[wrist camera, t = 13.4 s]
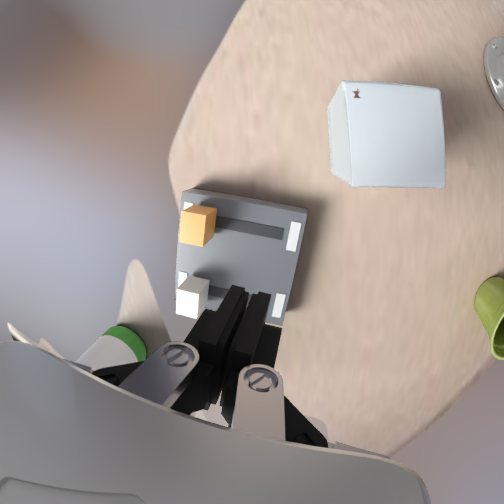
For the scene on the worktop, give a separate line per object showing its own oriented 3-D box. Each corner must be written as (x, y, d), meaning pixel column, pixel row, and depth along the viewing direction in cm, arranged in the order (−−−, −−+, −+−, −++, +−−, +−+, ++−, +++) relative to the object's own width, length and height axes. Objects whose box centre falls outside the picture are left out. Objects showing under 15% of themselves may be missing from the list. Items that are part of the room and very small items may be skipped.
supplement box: (330, 175, 29) (347, 188, 18) (325, 106, 27) (339, 76, 15) (395, 176, 28) (447, 191, 16) (392, 109, 26) (442, 86, 14)
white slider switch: (189, 275, 32) (176, 288, 29) (209, 280, 32) (199, 294, 29) (187, 298, 33) (175, 313, 30) (207, 303, 33) (197, 319, 30)
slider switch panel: (192, 188, 32) (181, 191, 30) (307, 208, 31) (307, 214, 28) (183, 289, 37) (174, 300, 34) (284, 312, 35) (281, 325, 33)
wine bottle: (143, 326, 40) (18, 480, 12) (153, 366, 43) (56, 512, 15) (103, 319, 42) (-21, 444, 14) (115, 357, 44) (15, 481, 16)
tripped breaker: (194, 204, 29) (181, 211, 26) (217, 208, 29) (206, 215, 26) (192, 232, 30) (179, 241, 27) (213, 236, 30) (202, 246, 27)
